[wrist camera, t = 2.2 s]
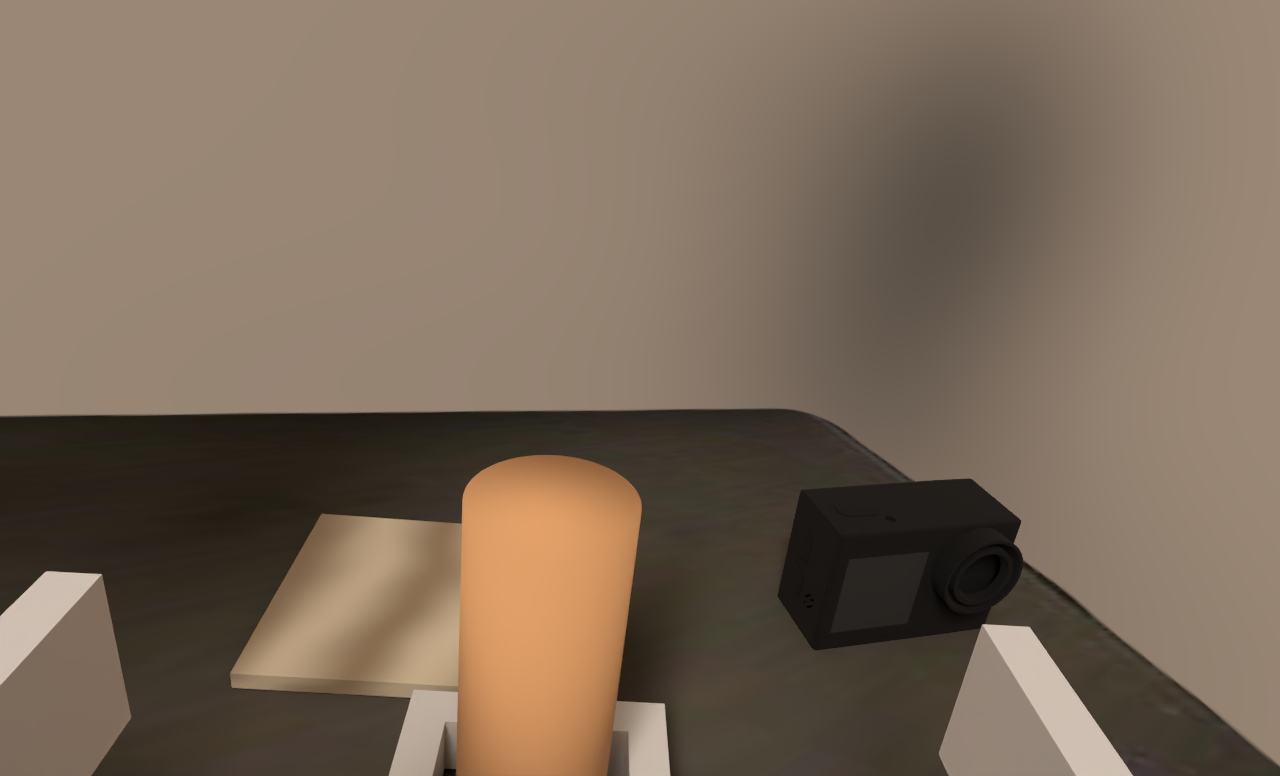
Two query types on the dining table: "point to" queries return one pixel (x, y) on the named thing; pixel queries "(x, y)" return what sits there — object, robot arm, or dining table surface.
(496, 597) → the copper rod
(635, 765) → the collar
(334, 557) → the birch pad
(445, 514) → the dining table surface
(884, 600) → the digital camera
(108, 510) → the dining table surface
